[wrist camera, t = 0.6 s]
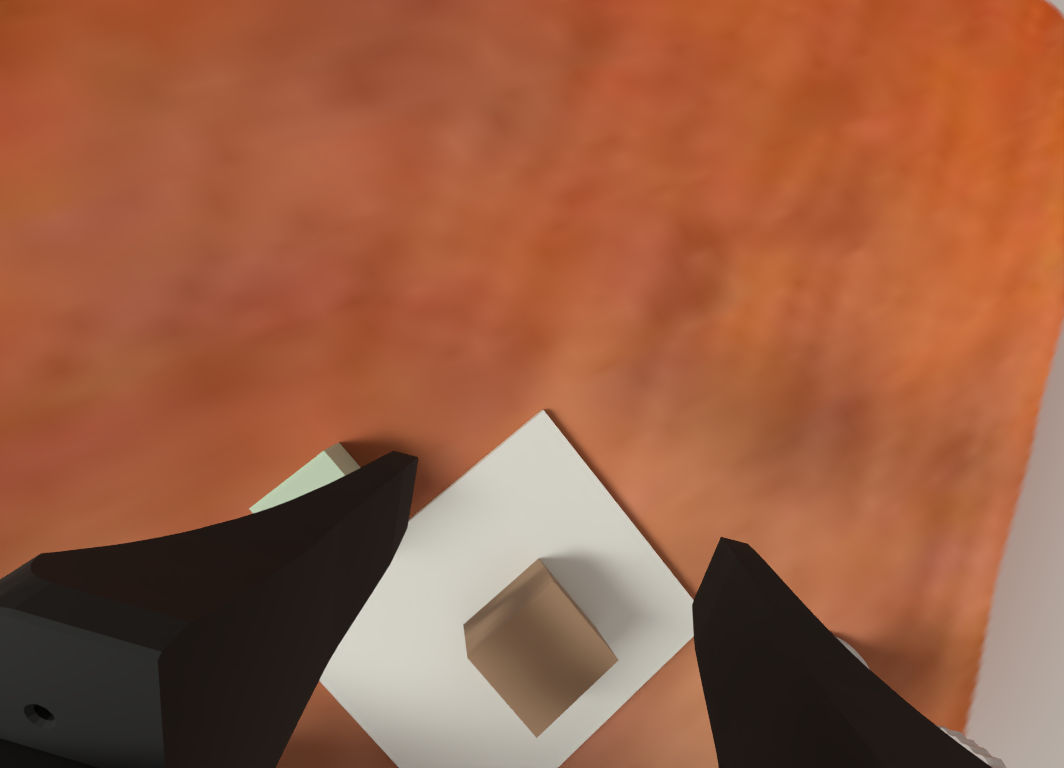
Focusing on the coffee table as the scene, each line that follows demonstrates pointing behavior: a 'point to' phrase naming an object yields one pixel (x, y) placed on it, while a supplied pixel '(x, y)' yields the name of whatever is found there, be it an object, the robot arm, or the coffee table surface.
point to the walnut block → (537, 647)
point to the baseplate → (474, 580)
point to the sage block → (310, 477)
